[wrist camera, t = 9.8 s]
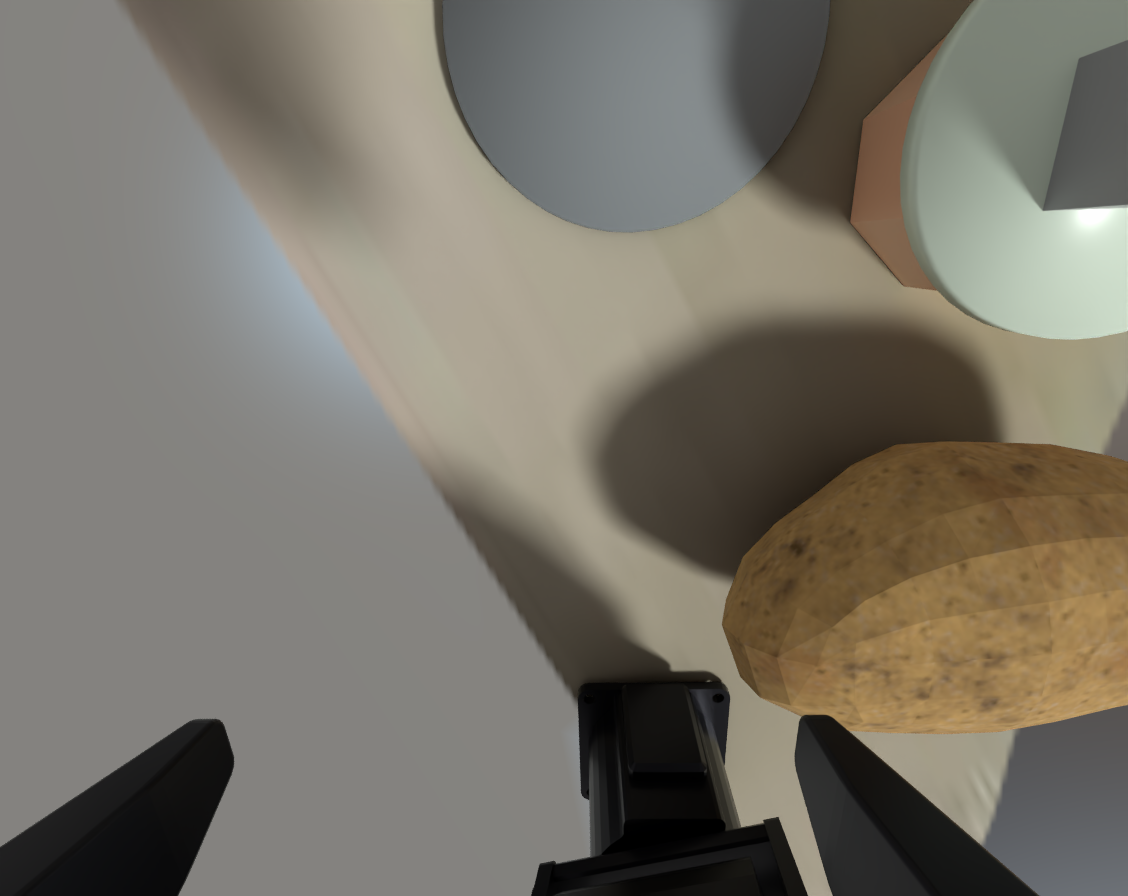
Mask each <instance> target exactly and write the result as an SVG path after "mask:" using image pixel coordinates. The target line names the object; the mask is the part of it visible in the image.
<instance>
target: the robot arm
mask: <svg viewBox="0 0 1128 896" xmlns="http://www.w3.org/2000/svg"><path fill="white" fill-rule="evenodd" d="M718 693H719V694H720V695H718V696H714V695H715V694H718ZM589 694H590V695H593V696H592V697H587V696H586V695H589ZM729 705H730V695H729V692H728V689H727V687H726V686H725V685H724V684H723V683H720V682H666V683H587V684H584V685H582V686H581V687H580V688H579V690H578V714H579V745H580V773H581V794H582V796H583V797H584V798H586V799H588V800H589V803H590V857H587V858H582V859H577V860H572V861H567V862H562V863H557V864H556V862H555V861H551V862H546V863H541V864H540V865H539V868H538V873H537V877H536V881H535V885H534V888H533V890H532V895H531V896H808V895H807V892H806V889H805V887H804V884H803V881H802V879H801V876H800V873H799V871H798V868H797V865H796V863H795V860H794V857H793V855H792V852H791V849H790V847H789V844H788V841H787V839H786V836H785V833H784V831H783V828H782V825H781V823H780V820H779V817H776V818H771V819H766V820H763V822H764V823H761V824H756V825H751V826H746V827H741V825H740V821H739V817H738V814H737V810H736V807H735V803H734V799H733V796H732V792H731V789H730V785H729V781H728V778H727V774H726V771H725V767H724V765H725V753H726V741H727V729H728V717H729ZM795 767H796V772H797V775H798V779H799V782H800V786H801V789H802V793H803V797H804V800H805V804H806V807H807V811H808V814H809V818H810V821H811V825H812V828H813V832H814V835H815V839H816V842H817V846H818V849H819V853H820V856H821V860H822V863H823V867H824V870H825V874H826V877H827V880H828V883H829V886H830V889H831V892H832V895H833V896H1039V895H1038V894H1037V893H1036V892H1035V891H1033V890H1032V889H1031V888H1030V887H1029V886H1028V885H1026V884H1025V883H1024V882H1023V881H1022V880H1021V879H1020V878H1018V877H1017V876H1016V875H1015V874H1014V873H1013V872H1011V871H1010V870H1009V869H1008V868H1007V867H1006V866H1004V865H1003V864H1002V863H1001V862H1000V861H999V860H998V859H996V858H995V857H994V856H993V855H992V854H990V853H989V852H988V851H987V850H986V849H985V848H984V847H982V846H981V845H980V844H979V843H978V842H977V841H976V840H974V839H973V838H972V837H971V836H970V835H969V834H967V833H966V832H965V831H964V830H963V829H962V828H960V827H959V826H958V825H957V824H956V823H955V822H954V821H952V820H951V819H950V818H949V817H948V816H947V815H945V814H944V813H943V812H942V811H941V810H940V809H938V808H937V807H936V806H935V805H934V804H933V803H932V802H930V801H929V800H928V799H927V798H926V797H925V796H923V795H922V794H921V793H920V792H919V791H918V790H916V789H915V788H914V787H913V786H912V785H911V784H910V783H908V782H907V781H906V780H905V779H904V778H903V777H901V776H900V775H899V774H898V773H897V772H896V771H894V770H893V769H892V768H891V767H890V766H889V765H887V764H886V763H885V762H884V761H883V760H882V759H881V758H879V757H878V756H877V755H876V754H875V753H874V752H872V751H871V750H870V749H869V748H868V747H867V746H865V745H864V744H863V743H862V742H861V741H860V740H859V739H857V738H856V737H855V736H854V735H853V734H852V733H850V732H849V731H848V730H847V729H846V728H845V727H843V726H842V725H841V724H840V723H839V722H838V721H837V720H835V719H834V718H833V717H831V716H829V715H803V716H802V717H801V719H800V721H799V727H798V734H797V741H796V749H795ZM233 768H234V755H233V752H232V749H231V746H230V742H229V739H228V736H227V733H226V730H225V726H224V724H223V723H222V722H221V721H220V720H218V719H195V720H192V721H189V722H188V723H186V724H185V725H183V726H182V727H180V728H179V729H177V730H176V731H174V732H173V733H171V734H170V735H168V736H167V737H165V738H163V739H162V740H160V741H159V742H157V743H156V744H155V745H153V746H151V747H150V748H148V749H147V750H145V751H144V752H142V753H141V754H140V755H138V756H136V757H135V758H133V759H132V760H130V761H129V762H128V763H126V764H124V765H123V766H121V767H120V768H118V769H117V770H115V771H114V772H112V773H111V774H110V775H108V776H106V777H105V778H103V779H102V780H101V781H99V782H97V783H96V784H94V785H93V786H91V787H90V788H88V789H87V790H85V791H84V792H82V793H81V794H79V795H78V796H76V797H75V798H73V799H72V800H70V801H69V802H67V803H66V804H64V805H63V806H61V807H60V808H58V809H57V810H55V811H54V812H52V813H51V814H49V815H48V816H46V817H45V818H43V819H42V820H40V821H38V822H37V823H35V824H34V825H33V826H31V827H29V828H28V829H27V830H25V831H24V832H22V833H21V834H19V835H17V836H16V837H14V838H13V839H11V840H10V841H8V842H7V843H5V844H4V845H2V846H1V847H0V896H178V895H179V893H180V891H181V889H182V887H183V885H184V883H185V881H186V879H187V877H188V874H189V872H190V870H191V868H192V865H193V863H194V861H195V859H196V857H197V854H198V852H199V850H200V847H201V845H202V843H203V840H204V838H205V835H206V833H207V831H208V829H209V826H210V824H211V822H212V819H213V817H214V815H215V812H216V810H217V808H218V805H219V803H220V801H221V798H222V796H223V794H224V791H225V789H226V786H227V784H228V782H229V779H230V777H231V775H232V772H233Z"/></svg>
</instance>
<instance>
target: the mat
mask: <svg viewBox="0 0 1128 896" xmlns="http://www.w3.org/2000/svg"><path fill="white" fill-rule="evenodd" d="M442 8H443V36H444V43H445V50H446V57H447V63H448V68H449V72H450V76H451V80H452V83H453V87H454V91H455V94H456V97H457V99H458V102H459V105H460V107H461V110H462V112H463V115H464V118H465V120H466V122H467V123H468V125H469V127H470V129H471V131H472V133H473V135H474V137H475V139H476V141H477V142H478V144H479V145H480V147H481V148H482V150H483V151H484V153H485V154H486V156H487V157H488V158H489V160H490V161H491V163H492V164H493V165H494V166H495V167H496V169H497V170H498V171H499V172H500V173H501V174H502V175H503V176H504V178H505V179H506V180H507V181H508V182H509V183H510V184H511V185H512V186H514V187H515V188H516V189H517V190H518V191H519V192H520V193H522V194H523V195H524V196H525V197H526V198H527V199H529V200H530V201H532V202H533V203H535V204H536V205H538V206H539V207H541V208H542V209H544V210H545V211H547V212H549V213H551V214H553V215H555V216H557V217H559V218H561V219H564V220H566V221H568V222H571V223H574V224H577V225H580V226H584V227H587V228H591V229H597V230H603V231H609V232H640V231H649V230H656V229H660V228H664V227H668V226H672V225H676V224H679V223H682V222H684V221H687V220H689V219H692V218H694V217H697V216H699V215H701V214H703V213H705V212H707V211H708V210H710V209H712V208H714V207H716V206H717V205H719V204H721V203H722V202H724V201H725V200H727V199H728V198H729V197H731V196H732V195H733V194H735V193H736V192H737V191H739V190H740V189H741V188H743V187H744V186H745V185H746V184H747V183H748V182H749V181H750V180H751V179H752V178H753V177H754V176H755V175H756V174H758V173H759V172H760V171H761V169H762V168H763V167H764V166H765V165H766V164H767V162H768V161H769V160H770V159H771V158H772V157H773V155H774V154H775V153H776V152H777V151H778V149H779V148H780V146H781V145H782V143H783V142H784V140H785V139H786V137H787V136H788V134H789V133H790V131H791V130H792V128H793V126H794V125H795V123H796V121H797V119H798V117H799V115H800V113H801V111H802V109H803V107H804V105H805V103H806V101H807V99H808V96H809V94H810V91H811V88H812V86H813V83H814V81H815V78H816V76H817V72H818V69H819V65H820V61H821V57H822V54H823V50H824V46H825V40H826V34H827V28H828V22H829V13H830V0H443V5H442Z"/></svg>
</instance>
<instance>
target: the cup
mask: <svg viewBox="0 0 1128 896" xmlns="http://www.w3.org/2000/svg"><path fill="white" fill-rule="evenodd" d="M946 37H947V35H946V36H945V37H944V38H943V39H942V40H941V41H940V42H939V43H938V44H937V45H936V46H935V47H934V48H933V49H932V50H931V51H930V52H929V53H928V54H927V56H926V57H925V58H924V59H923V60H922V61H921V62H920V63H919V64H918V65H917V66H916V67H915V68H914V69H913V70H912V71H911V72H910V73H909V74H908V75H907V76H906V77H905V78H904V79H903V80H902V81H901V82H900V83H899V84H898V85H897V86H896V87H895V88H894V89H893V90H892V91H891V92H890V93H889V94H888V95H887V96H886V97H885V98H884V99H883V100H882V101H881V102H880V103H879V104H878V105H877V106H876V107H875V108H874V109H873V110H872V111H871V112H870V113H869V114H868V115H867V117H866V118H865V119H864V120H863V127H862V135H861V142H860V150H859V158H858V166H857V173H856V181H855V189H854V197H853V205H852V212H851V220H850V223H851V224H852V225H853V226H854V227H855V229H856V230H857V231H858V232H859V233H860V235H861V236H862V237H863V238H864V239H865V240H866V242H867V243H868V244H869V245H870V246H871V247H872V249H873V250H874V251H875V252H876V253H877V255H878V256H879V257H880V258H881V259H882V260H883V262H884V263H885V264H886V265H887V266H888V268H889V269H890V270H891V271H892V272H893V273H894V275H895V276H896V277H897V278H898V279H899V281H900V282H901V283H902V284H903V285H904V286H905V287H913V288H921V289H929V290H937V289H936V288H935V287H934V286H933V285H932V283H931V282H930V281H929V279H928V278H927V276H926V275H925V273H924V272H923V271H922V269H921V267H920V265H919V263H918V261H917V259H916V257H915V255H914V253H913V251H912V249H911V245H910V242H909V239H908V236H907V233H906V229H905V226H904V220H903V214H902V208H901V197H900V170H901V159H902V149H903V144H904V140H905V135H906V130H907V126H908V121H909V118H910V115H911V112H912V109H913V106H914V103H915V100H916V97H917V94H918V91H919V89H920V87H921V84H922V82H923V80H924V78H925V76H926V73H927V71H928V69H929V67H930V64H931V62H932V61H933V59H934V57H935V56H936V54H937V52H938V50H939V49H940V47H941V45H942V44H943V42H944V40H945V38H946ZM937 291H938V290H937Z"/></svg>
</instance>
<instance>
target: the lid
mask: <svg viewBox="0 0 1128 896" xmlns="http://www.w3.org/2000/svg"><path fill="white" fill-rule="evenodd" d="M900 197H901V208H902V214H903V220H904V226H905V229H906V233H907V236H908V239H909V242H910V245H911V249H912V251H913V253H914V255H915V257H916V259H917V261H918V263H919V265H920V267H921V269H922V271H923V272H924V273H925V275H926V276H927V278H928V279H929V281H930V282H931V283H932V285H933V286H934V287H935V288H936V289H937V290H938V291H939V293H940V294H941V295H942V296H943V297H944V298H945V299H946V300H947V301H948V302H950V303H951V304H952V305H954V306H955V307H956V308H958V309H959V310H960V311H962V312H963V313H965V314H966V315H968V316H970V317H972V318H974V319H976V320H978V321H980V322H982V323H984V324H987V325H990V326H993V327H996V328H999V329H1002V330H1006V331H1011V332H1016V333H1021V334H1026V335H1031V336H1037V337H1043V338H1048V339H1071V340H1075V339H1086V338H1097V337H1103V336H1107V335H1112V334H1117V333H1122V332H1126V331H1128V0H974V1H973V2H972V3H971V4H970V5H969V6H968V7H967V9H966V10H965V11H964V13H963V14H962V16H961V17H960V18H959V20H958V21H957V22H956V24H955V25H954V27H953V28H952V29H951V31H950V32H949V34H948V35H947V37H946V38H945V40H944V42H943V44H942V45H941V47H940V49H939V50H938V52H937V54H936V56H935V57H934V59H933V61H932V62H931V64H930V67H929V69H928V71H927V73H926V76H925V78H924V80H923V82H922V84H921V87H920V89H919V91H918V94H917V97H916V100H915V103H914V106H913V109H912V112H911V115H910V118H909V121H908V126H907V130H906V135H905V140H904V144H903V149H902V159H901V170H900Z"/></svg>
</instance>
